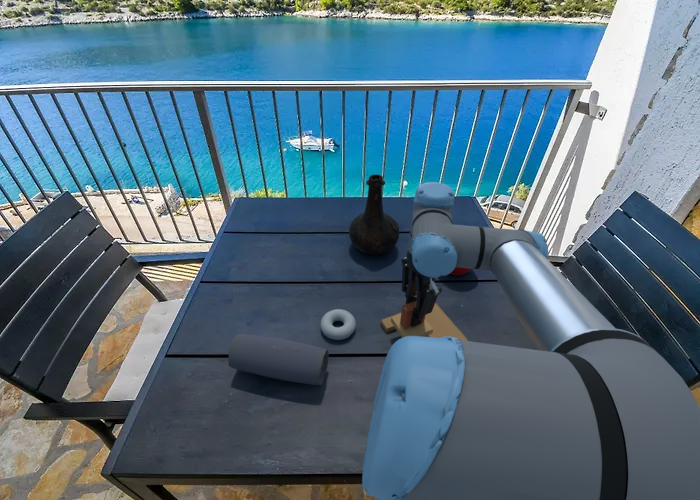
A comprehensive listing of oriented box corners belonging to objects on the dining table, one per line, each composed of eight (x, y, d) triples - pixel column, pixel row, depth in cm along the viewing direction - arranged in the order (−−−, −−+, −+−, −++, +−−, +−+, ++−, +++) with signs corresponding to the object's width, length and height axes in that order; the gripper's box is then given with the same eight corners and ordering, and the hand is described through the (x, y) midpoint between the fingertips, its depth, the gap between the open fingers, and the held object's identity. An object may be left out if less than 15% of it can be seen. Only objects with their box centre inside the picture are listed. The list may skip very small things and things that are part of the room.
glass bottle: (392, 266, 120) (400, 194, 102) (342, 256, 123) (341, 186, 106) (401, 236, 133) (409, 168, 115) (356, 228, 137) (357, 162, 119)
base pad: (467, 344, 95) (468, 340, 93) (410, 369, 89) (411, 365, 88) (432, 304, 106) (433, 300, 105) (380, 324, 100) (381, 319, 99)
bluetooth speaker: (329, 362, 90) (328, 339, 84) (320, 396, 83) (317, 373, 77) (248, 347, 94) (240, 323, 87) (232, 378, 87) (223, 354, 80)
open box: (432, 333, 91) (437, 311, 86) (406, 344, 89) (410, 321, 83) (415, 312, 97) (419, 289, 91) (390, 321, 94) (393, 299, 89)
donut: (351, 346, 94) (359, 317, 102) (351, 338, 92) (359, 309, 100) (316, 339, 96) (326, 311, 104) (315, 331, 94) (325, 303, 101)
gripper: (461, 267, 72) (442, 337, 87) (419, 227, 83) (408, 296, 98) (431, 277, 69) (416, 348, 84) (392, 235, 80) (385, 304, 95)
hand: (412, 320), depth 91 cm, fingers closed on open box, 2 cm apart
